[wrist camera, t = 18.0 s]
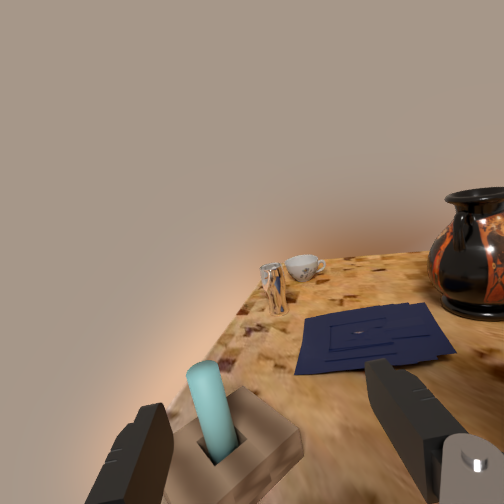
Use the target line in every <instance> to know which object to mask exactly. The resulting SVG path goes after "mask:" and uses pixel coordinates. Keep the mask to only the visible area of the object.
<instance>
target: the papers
mask: <svg viewBox="0 0 504 504" xmlns="http://www.w3.org/2000/svg"><path fill="white" fill-rule="evenodd" d="M454 353H457V352H456V351H455V349H454V348H453V346H452V345H451V343H450V342H449V340H448V339H447V337H446V336H445V334H444V333H443V331H442V330H441V329H440V327H439V326H438V324H437V322H436V321H435V319H434V317H433V316H432V314H431V312H430V311H429V309H428V307H427V306H426V304H425V302H424V303H417V304H411V305H409V303H401V304H395V305H394V304H389V305H383V306H380V305H379V306H373V307H366V308H360V309H354V310H348V311H342V312H336V313H330V314H326V315H321V316H316V317H312V318H306V319H305V323H304V332H303V341H302V346H301V350H300V354H299V357H298V361H297V365H296V369H295V373H294V375H302V374H316V373H325V372H331V371H341V370H351V369H361V368H365V366H364V365H365V362H367V361H371V360H376V359H381V358H385V359H386V360H387V361H388V362H389V363H390V364H391V365H395V366H397V365H406V364H414V363H418V362H419V361H428V360H437V359H438V358H437V355H446V354H454Z"/></svg>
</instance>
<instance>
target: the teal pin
mask: <svg viewBox="0 0 504 504" xmlns="http://www.w3.org/2000/svg"><path fill="white" fill-rule="evenodd" d="M186 377H187V381H188V384H189V388H190V391H191V395H192V398H193V401H194V405H195V408H196V412H197V415H198V418H199V422H200V425H201V429H202V432H203V435H204V439H205V442H206V446H207V449H208V453H209V456H210V459H211V462H212V464H213V465H214V466H216V465H217V464H218V463H220V462H221V461H222V460H223V459H224V458H226V457H227V456H228V455H229V454H231V453H232V452H233V451H234V450H235V449H237V448H238V447H239V444H238V440H237V437H236V433H235V429H234V425H233V421H232V417H231V414H230V410H229V406H228V402H227V398H226V394H225V391H224V387H223V383H222V379H221V375H220V371H219V368H218V364H217V363H216V362H215V361H211V360H206V361H202V362H199V363H197V364H195V365H193V366H192V367H191V368H190V369H189V370H188V371H187V374H186Z"/></svg>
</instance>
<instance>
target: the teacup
mask: <svg viewBox="0 0 504 504" xmlns="http://www.w3.org/2000/svg"><path fill="white" fill-rule="evenodd" d="M320 263H323V264H324V266H323V268H321V269H319V270H318V271H317V267H318V266H319V264H320ZM285 265H286V268H287V270H288V272H289V273H290V275H291V276H292V277H293V278H295V279H296V280H297V281H299V282H305V281H308V280H310V279H311V278H312V277H313V276H314V274H315V273H317V272H320V271H322V270H323V269H324V268H325V266H326V264H325V261H324V260H319V261H318V257H316V256H313V255H300V256H296V257H293V258H290V259H288V260H286V261H285Z"/></svg>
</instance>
